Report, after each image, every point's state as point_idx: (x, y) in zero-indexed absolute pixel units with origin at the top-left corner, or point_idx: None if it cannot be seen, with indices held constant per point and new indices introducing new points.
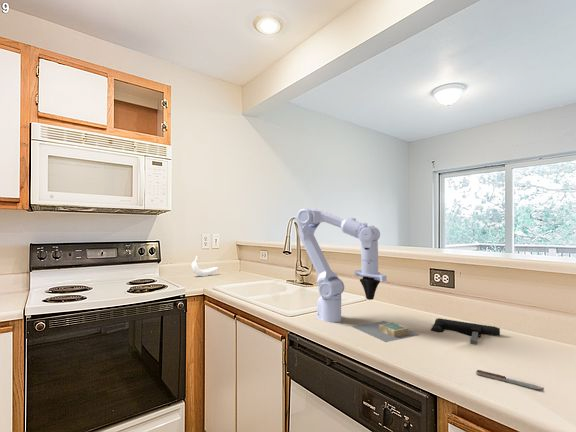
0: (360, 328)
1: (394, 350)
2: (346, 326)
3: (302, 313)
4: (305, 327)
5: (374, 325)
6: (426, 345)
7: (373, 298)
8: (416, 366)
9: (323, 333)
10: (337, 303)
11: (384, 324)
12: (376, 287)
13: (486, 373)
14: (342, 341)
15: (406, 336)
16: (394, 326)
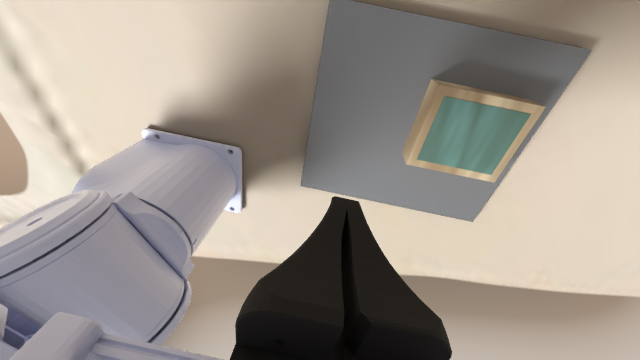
0: (337, 180)
1: (510, 232)
2: (274, 174)
3: None
4: (227, 254)
5: (347, 110)
6: (618, 125)
7: (360, 206)
8: (592, 271)
9: None
10: (201, 231)
11: (421, 143)
12: (390, 270)
13: None
14: None
15: None
16: (474, 135)
